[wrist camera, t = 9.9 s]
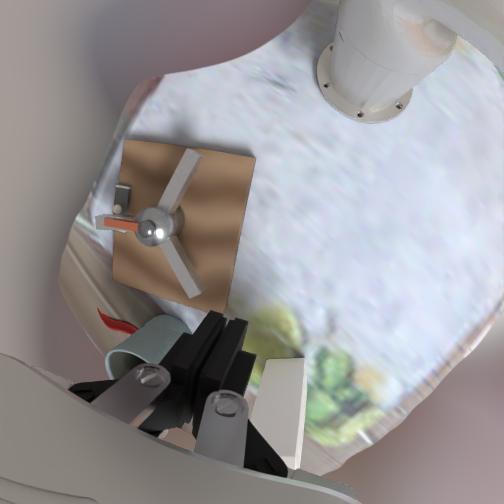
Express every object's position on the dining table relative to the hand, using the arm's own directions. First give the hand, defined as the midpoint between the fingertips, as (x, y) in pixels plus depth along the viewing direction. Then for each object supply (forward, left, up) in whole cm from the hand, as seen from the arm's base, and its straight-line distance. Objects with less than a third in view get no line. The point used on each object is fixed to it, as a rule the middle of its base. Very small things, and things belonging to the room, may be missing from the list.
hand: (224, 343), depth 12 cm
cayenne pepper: (+24, -24, -27) cm, 43 cm away
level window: (+2, -23, -25) cm, 34 cm away
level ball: (+2, -23, -25) cm, 34 cm away
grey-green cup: (+22, -14, -27) cm, 37 cm away
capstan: (+4, -13, -25) cm, 28 cm away
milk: (+22, +6, -27) cm, 35 cm away
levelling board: (+3, -15, -27) cm, 31 cm away
